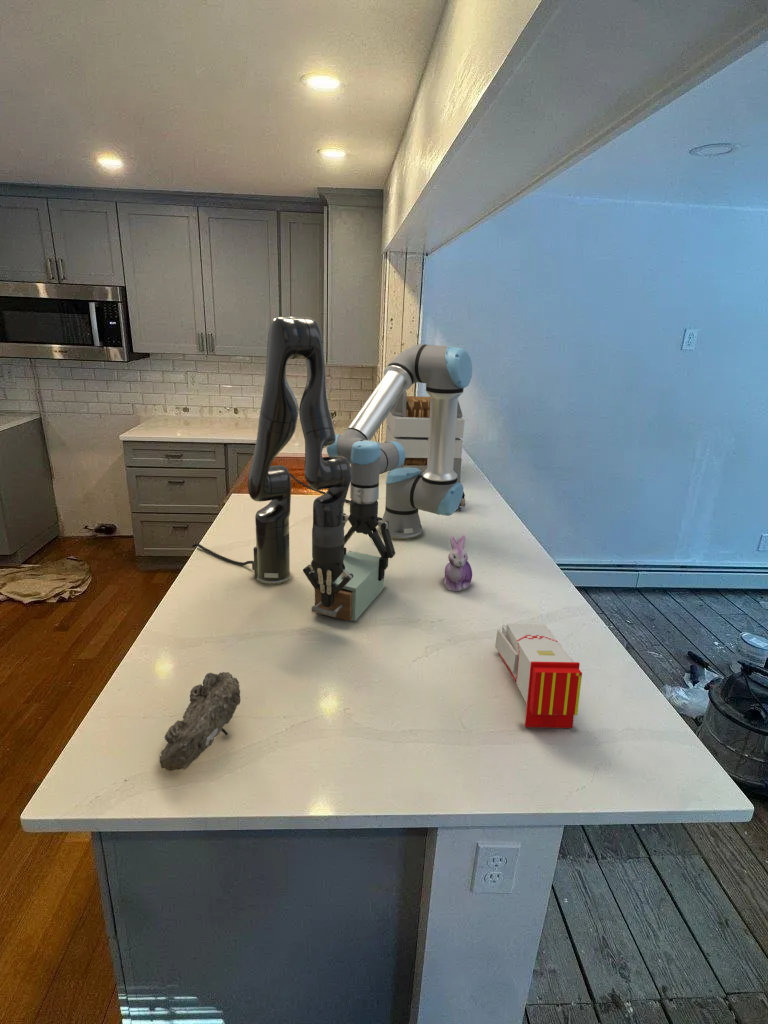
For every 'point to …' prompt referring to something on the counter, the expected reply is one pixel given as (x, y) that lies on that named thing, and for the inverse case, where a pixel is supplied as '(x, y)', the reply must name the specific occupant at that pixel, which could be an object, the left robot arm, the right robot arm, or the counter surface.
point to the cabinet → (362, 580)
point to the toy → (541, 674)
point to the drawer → (335, 605)
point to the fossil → (201, 720)
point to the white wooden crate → (418, 430)
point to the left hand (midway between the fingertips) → (327, 605)
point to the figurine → (457, 567)
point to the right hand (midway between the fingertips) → (361, 574)
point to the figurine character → (462, 502)
